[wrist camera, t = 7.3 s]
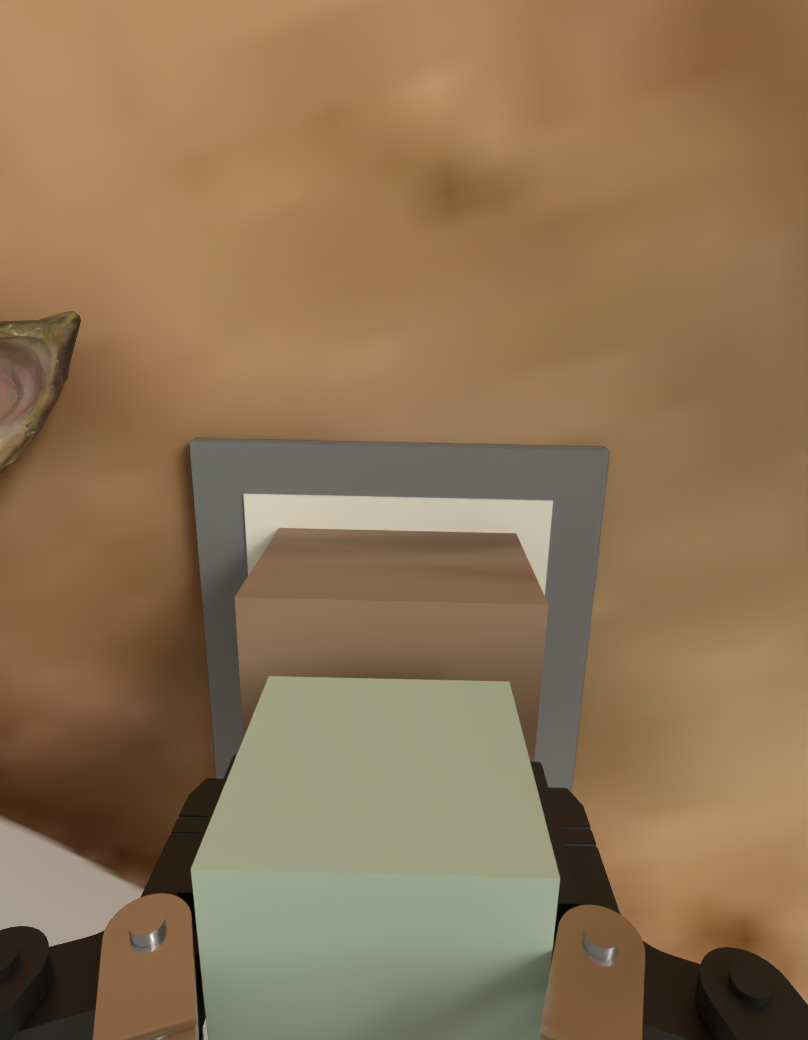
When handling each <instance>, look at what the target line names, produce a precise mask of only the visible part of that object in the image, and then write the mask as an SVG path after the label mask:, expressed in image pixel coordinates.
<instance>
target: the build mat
mask: <svg viewBox="0 0 808 1040" xmlns="http://www.w3.org/2000/svg"><path fill="white" fill-rule="evenodd" d="M189 444H190V456H191V469H192V481H193V493H194V506H195V518H196V531H197V543H198V556H199V568H200V581H201V593H202V606H203V618H204V630H205V643H206V655H207V668H208V680H209V693H210V705H211V718H212V730H213V742H214V755H215V767H216V779H223V778H224V776H225V774H226V771H227V769H228V766H229V764H230V761H231V759H232V757H233V755H234V754H238V751H239V749H240V746H241V744H242V741H243V739H244V737H243V721H242V706H241V690H240V674H239V659H238V643H237V628H236V612H235V596H236V594H237V593H238V591H239V590H240V588H241V587H242V585H243V583H244V582H245V580H246V579H247V577H248V576H249V574H250V572H251V571H252V569H253V568H254V566H255V565H256V563H257V562H258V560H259V558H260V557H261V555H262V554H263V552H264V551H265V549H266V548H267V546H268V544H269V543H270V541H271V540H272V538H273V537H274V535H275V534H276V532H277V530H278V529H279V528H307V529H350V530H394V531H438V532H482V533H516V534H517V536H518V538H519V541H520V543H521V545H522V547H523V549H524V552H525V554H526V556H527V558H528V560H529V563H530V565H531V567H532V569H533V571H534V574H535V576H536V578H537V580H538V583H539V585H540V587H541V589H542V591H543V594H544V596H545V598H546V600H547V602H548V605H549V606H548V617H547V628H546V639H545V650H544V661H543V672H542V683H541V694H540V705H539V716H538V727H537V738H536V749H535V760H534V762H541V764H542V767H543V770H544V774H545V777H546V781H547V784H548V788H568V790H569V791H570V792H571V790H572V781H573V772H574V763H575V755H576V746H577V737H578V728H579V719H580V710H581V702H582V693H583V684H584V675H585V666H586V657H587V649H588V640H589V631H590V622H591V613H592V604H593V596H594V587H595V578H596V569H597V560H598V551H599V542H600V534H601V525H602V516H603V507H604V498H605V489H606V481H607V472H608V463H609V454H610V451H609V450H608V449H607V448H605V447H595V446H548V445H500V444H453V443H406V442H359V441H312V440H265V439H218V438H195V439H193V440H192V441H190V442H189Z"/></svg>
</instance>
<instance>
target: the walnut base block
mask: <svg viewBox="0 0 808 1040" xmlns="http://www.w3.org/2000/svg"><path fill="white" fill-rule="evenodd" d="M548 606H549V605H548V602H547V600H546V598H545V596H544V594H543V591H542V589H541V587H540V585H539V583H538V580H537V578H536V576H535V574H534V571H533V569H532V567H531V565H530V563H529V560H528V558H527V556H526V554H525V552H524V549H523V547H522V545H521V543H520V541H519V538H518V536H517V534H516V533H482V532H438V531H394V530H350V529H307V528H279V529H278V530H277V532H276V534H275V535H274V537H273V538H272V540H271V541H270V543H269V544H268V546H267V548H266V549H265V551H264V552H263V554H262V555H261V557H260V558H259V560H258V562H257V563H256V565H255V566H254V568H253V569H252V571H251V572H250V574H249V576H248V577H247V579H246V580H245V582H244V583H243V585H242V587H241V588H240V590H239V591H238V593H237V594H236V596H235V612H236V628H237V643H238V659H239V674H240V690H241V706H242V721H243V737H244V736H245V734H246V731H247V729H248V726H249V724H250V721H251V719H252V716H253V714H254V711H255V709H256V707H257V704H258V702H259V699H260V697H261V694H262V692H263V689H264V687H265V684H266V682H267V679H268V677H269V676H285V677H330V678H375V679H420V680H466V681H509V682H510V686H511V690H512V693H513V697H514V701H515V705H516V709H517V713H518V717H519V721H520V724H521V728H522V732H523V736H524V740H525V744H526V748H527V752H528V755H529V759H530V762H534V760H535V749H536V738H537V727H538V716H539V705H540V694H541V683H542V672H543V661H544V650H545V639H546V628H547V617H548Z"/></svg>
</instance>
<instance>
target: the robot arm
mask: <svg viewBox="0 0 808 1040" xmlns="http://www.w3.org/2000/svg"><path fill="white" fill-rule="evenodd" d="M236 756H237V754H234V755H233V757H232V759H231V761H230V764H229V766H228V769H227V771H226V774H225V776H224V778H223V779H211V778H207V779H205V780H204V781H203V782H202V783H201V784H200V785H199V786H198V787H197V788H196V789H195V790H194V791H193V792H192V793H191V794H190V795H189V796H188V798H187V800H186V802H185V804H184V806H183V808H182V811H181V813H180V815H179V819H177V821H176V823H175V825H174V828H173V830H172V833H171V836H169V838H168V840H167V842H166V845H165V847H164V849H163V851H162V853H161V855H160V857H159V859H158V862H157V864H156V866H155V868H154V870H153V872H152V874H151V876H150V879H149V881H148V883H147V885H146V887H145V889H144V891H143V893H142V896H141V897H140V898H139V899H136V900H134V901H133V902H131V903H129V904H127V905H126V906H125V907H124V908H122V909H121V910H120V911H118V913H116V914H115V915H114V917H113V918H112V919H111V920H110V922H109V923H108V925H107V927H106V929H105V931H103V932H100V933H98V934H96V935H92V936H89V937H86V938H82V939H78V940H75V941H71V942H67V943H63V944H59V945H55V946H52V947H49V944H48V941H47V938H46V936H45V935H44V934H43V933H42V932H41V931H40V930H38V929H35V928H33V927H27V926H18V927H11V928H7V929H3V930H0V1040H204V1034H203V1025H204V1021H205V1018H206V1015H205V1005H204V995H203V985H202V975H201V965H200V955H199V945H198V936H197V926H196V916H195V906H194V896H193V886H192V876H191V867H192V865H193V862H194V860H195V857H196V855H197V852H198V850H199V847H200V845H201V843H202V840H203V838H204V835H205V833H206V830H207V828H208V825H209V823H210V820H211V818H212V815H213V813H214V810H215V808H216V805H217V803H218V800H219V798H220V796H221V793H222V791H223V788H224V786H225V783H226V781H227V778H228V776H229V773H230V771H231V768H232V766H233V763H234V761H235V758H236ZM530 763H531V767H532V771H533V775H534V779H535V783H536V786H537V790H538V794H539V798H540V802H541V806H542V810H543V814H544V817H545V821H546V825H547V829H548V833H549V837H550V841H551V845H552V848H553V852H554V856H555V860H556V864H557V868H558V872H559V876H560V885H559V894H558V903H557V913H556V922H555V931H554V940H553V949H552V959H551V968H550V974H549V979H548V985H547V990H546V996H545V1001H544V1006H543V1012H542V1017H541V1023H540V1028H539V1033H538V1034H537V1035H536V1039H535V1040H808V1005H807V1003H806V1002H805V1001H804V1000H803V999H802V997H801V996H800V995H799V994H798V992H797V991H796V990H795V989H794V987H793V986H792V985H791V984H790V982H789V981H788V980H787V979H786V978H785V977H784V975H783V974H782V973H781V972H780V971H779V970H777V969H776V968H775V967H774V966H773V965H771V964H770V963H769V962H767V961H766V960H764V959H763V958H761V957H759V956H757V955H755V954H753V953H751V952H748V951H745V950H742V949H738V948H730V947H724V948H718V949H715V950H712V951H710V952H709V953H707V955H706V956H705V957H704V958H703V960H702V962H701V965H700V964H697V963H694V962H691V961H688V960H685V959H682V958H679V957H675V956H672V955H669V954H667V953H664V952H661V951H659V950H657V949H655V948H653V947H652V946H650V945H648V944H647V943H645V942H644V941H643V940H642V939H641V936H640V935H639V933H638V931H637V930H636V929H635V927H634V926H633V925H632V924H631V923H630V922H629V921H628V920H627V919H626V918H624V917H623V916H621V914H620V912H619V909H618V906H617V903H616V900H615V898H614V895H613V892H612V889H611V886H610V883H609V880H608V877H607V874H606V871H605V868H604V865H603V862H602V860H601V857H600V854H599V851H598V848H596V842H595V839H594V836H593V833H592V831H591V830H590V824H589V822H588V819H587V816H586V813H585V810H584V807H583V805H582V804H581V803H580V802H579V801H578V800H577V799H576V797H575V796H574V795H573V794H572V793H571V792H570V791H569V790H568V788H548V784H547V781H546V777H545V774H544V770H543V767H542V764H541V762H530Z"/></svg>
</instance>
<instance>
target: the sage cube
mask: <svg viewBox="0 0 808 1040" xmlns="http://www.w3.org/2000/svg"><path fill="white" fill-rule="evenodd" d="M191 876H192V886H193V896H194V906H195V916H196V926H197V936H198V945H199V955H200V965H201V975H202V985H203V995H204V1005H205V1015H206V1025H207V1035H208V1040H535V1039H536V1035H537V1034H538V1033H539V1028H540V1023H541V1017H542V1012H543V1006H544V1001H545V996H546V990H547V985H548V979H549V974H550V968H551V959H552V949H553V940H554V931H555V922H556V913H557V903H558V894H559V885H560V876H559V872H558V868H557V864H556V860H555V856H554V852H553V848H552V845H551V841H550V837H549V833H548V829H547V825H546V821H545V817H544V814H543V810H542V806H541V802H540V798H539V794H538V790H537V786H536V783H535V779H534V775H533V771H532V767H531V763H530V759H529V755H528V752H527V748H526V744H525V740H524V736H523V732H522V728H521V724H520V721H519V717H518V713H517V709H516V705H515V701H514V697H513V693H512V690H511V686H510V682H509V681H466V680H420V679H375V678H330V677H285V676H269V677H268V679H267V682H266V684H265V687H264V689H263V692H262V694H261V697H260V699H259V702H258V704H257V707H256V709H255V711H254V714H253V716H252V719H251V721H250V724H249V726H248V729H247V731H246V734H245V736H244V739H243V741H242V744H241V746H240V749H239V751H238V754H237V756H236V758H235V761H234V763H233V766H232V768H231V771H230V773H229V776H228V778H227V781H226V783H225V786H224V788H223V791H222V793H221V796H220V798H219V800H218V803H217V805H216V808H215V810H214V813H213V815H212V818H211V820H210V823H209V825H208V828H207V830H206V833H205V835H204V838H203V840H202V843H201V845H200V847H199V850H198V852H197V855H196V857H195V860H194V862H193V865H192V867H191Z"/></svg>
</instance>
